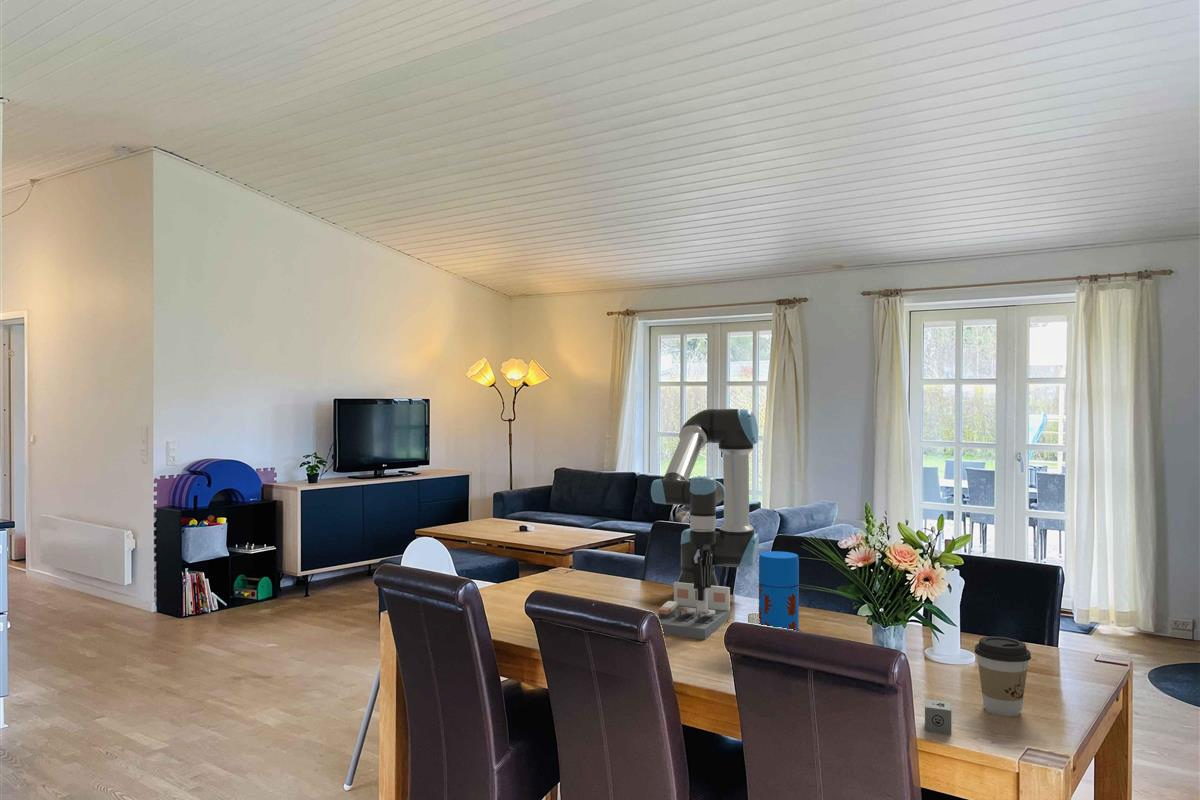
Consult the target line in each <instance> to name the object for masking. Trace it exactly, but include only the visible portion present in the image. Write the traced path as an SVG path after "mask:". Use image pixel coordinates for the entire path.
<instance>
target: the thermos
mask: <svg viewBox="0 0 1200 800" xmlns="http://www.w3.org/2000/svg"><path fill="white" fill-rule="evenodd" d="M799 567H800V562H799V555H798V554H797V553H795V552H789V551H778V550H777V551H775V550H774V551H771V550H770V551H764V552H760V553H759V557H758V625H759V624H761V625H767V626H773V627H782V628H787V629H793V630H796V631H800V630H799V629H800V627H799V625H800V624H799V623H800V622H799V621H800V620H799V619H800V618H799V613H800V610H799V609H800V608H799V607H800V605H799V604H800V603H799V602H800V601H799V598H800V597H799V595H800V593H799V591H800V590H799V589H800V587H799V586H800V585H799V583H800V580H799V579H800V574H799V573H800V572H799V571H800V570H799V569H800V568H799ZM759 619H760V620H759ZM759 621H760V623H759Z"/></svg>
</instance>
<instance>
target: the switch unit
mask: <svg viewBox="0 0 1200 800" xmlns="http://www.w3.org/2000/svg"><path fill="white" fill-rule="evenodd" d="M673 601H675V602H677V606H676V607H675V608H674V609H673V610H672V611H671V612H670V613H669V614H660V613H658V614H657V615H658V616H659V619H660V622H661V625H662V628H663V632H664V634H663V635H666V636H667V635H668V636H673V635H674V636H675V637H680V636H681V637H682V638H688V637H689V639H696V638H697V639H698V640H703V639H704V641H705V640H707V639H708V638H709V637H710V636H712V635H713V634H714V633H715V632H716V630H717V629H718V628H719V627H720V626H721V625H722V624H723V623H724V622H726V621H727V620H729V619H730V620H731V617H730V616H731V609H730V608H731V587H729V586H722V585H721V586H720V585H719V586H711V588H708V610H715V613H712V614H709V615H706V614H697V589H694V584H691V583H681V582H678V581H674V582H673ZM678 607H688V608H696V611H693V612H683V611H678ZM730 620H729V621H730ZM726 623H727V622H726ZM721 627H722V626H721ZM721 627H720V628H721ZM720 628H719V629H720ZM719 629H718V630H719ZM718 630H717V631H718ZM713 632H714V633H713ZM712 633H713V634H712ZM711 634H712V635H711ZM706 638H707V639H706ZM697 639H696V640H697Z"/></svg>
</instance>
